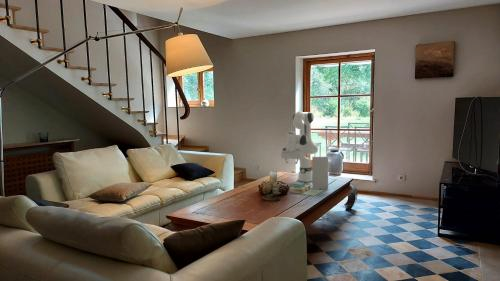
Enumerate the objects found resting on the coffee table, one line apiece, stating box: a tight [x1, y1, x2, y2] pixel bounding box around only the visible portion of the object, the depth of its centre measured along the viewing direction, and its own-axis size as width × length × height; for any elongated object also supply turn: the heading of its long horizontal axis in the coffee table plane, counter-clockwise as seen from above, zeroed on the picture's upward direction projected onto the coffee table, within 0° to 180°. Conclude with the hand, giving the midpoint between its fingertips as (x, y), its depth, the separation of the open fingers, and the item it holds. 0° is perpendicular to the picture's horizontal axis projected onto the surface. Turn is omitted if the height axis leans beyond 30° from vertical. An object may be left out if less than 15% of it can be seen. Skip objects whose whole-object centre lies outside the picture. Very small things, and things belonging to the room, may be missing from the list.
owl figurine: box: [261, 179, 281, 202], centre depth 297 cm, size 18×12×17 cm, turn 52°
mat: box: [302, 188, 325, 197], centre depth 316 cm, size 20×12×1 cm, turn 145°
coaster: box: [292, 181, 306, 188], centre depth 324 cm, size 8×8×3 cm
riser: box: [289, 184, 311, 195], centre depth 323 cm, size 18×12×4 cm, turn 144°
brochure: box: [311, 156, 329, 190], centre depth 330 cm, size 14×6×30 cm, turn 84°
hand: (291, 163), depth 325 cm, fingers open, 8 cm apart
